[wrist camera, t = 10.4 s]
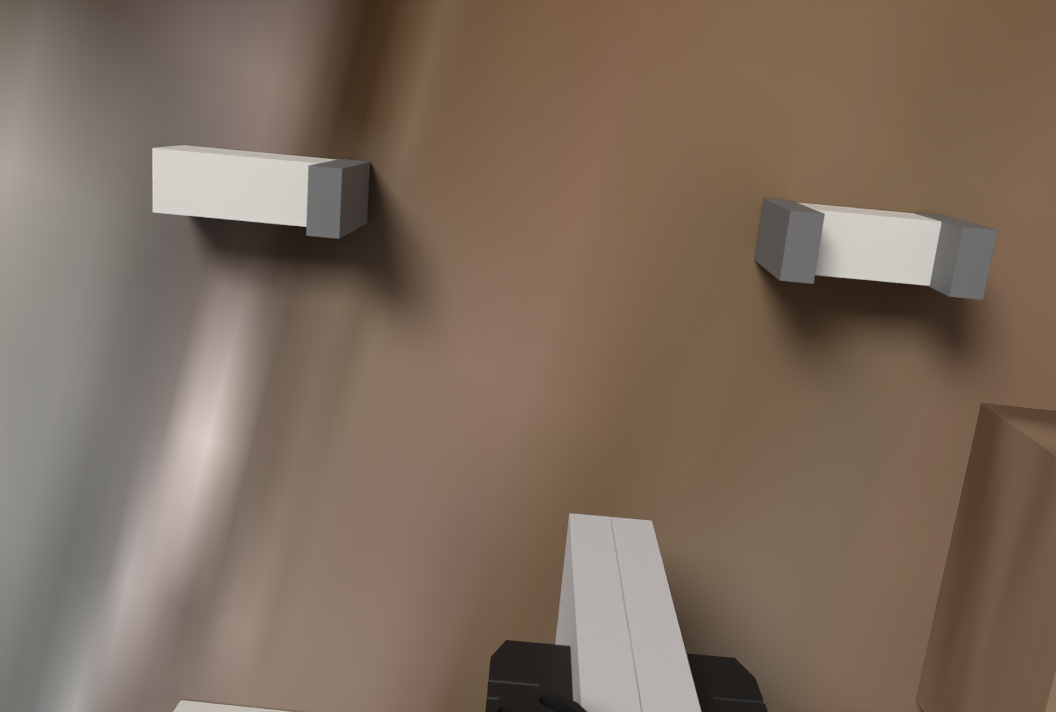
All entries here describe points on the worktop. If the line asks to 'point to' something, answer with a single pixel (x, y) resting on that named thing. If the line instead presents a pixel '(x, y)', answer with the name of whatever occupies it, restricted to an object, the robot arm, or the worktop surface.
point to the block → (999, 574)
